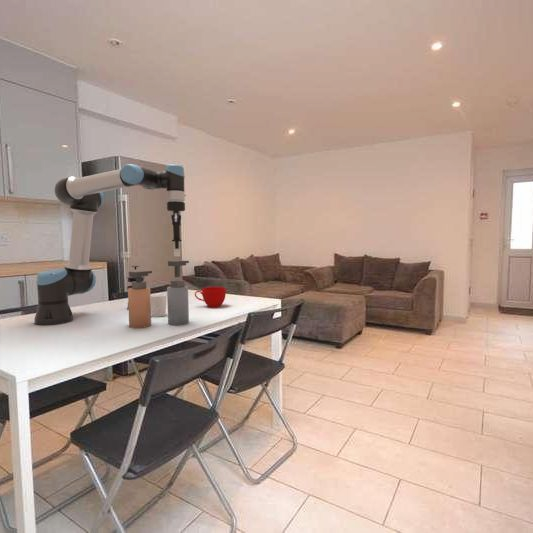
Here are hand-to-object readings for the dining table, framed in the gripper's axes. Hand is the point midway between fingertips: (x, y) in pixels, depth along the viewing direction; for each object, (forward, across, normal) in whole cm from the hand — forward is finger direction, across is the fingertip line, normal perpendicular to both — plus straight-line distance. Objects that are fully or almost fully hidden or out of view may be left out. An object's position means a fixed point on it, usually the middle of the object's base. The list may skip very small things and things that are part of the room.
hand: (177, 256), depth 156 cm
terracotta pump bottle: (+30, -1, +16) cm, 34 cm away
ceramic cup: (+30, +36, -16) cm, 50 cm away
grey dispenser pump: (+13, 0, +15) cm, 20 cm away
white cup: (+30, +19, +10) cm, 37 cm away
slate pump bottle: (+30, 0, 0) cm, 30 cm away
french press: (+30, +40, +23) cm, 55 cm away
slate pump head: (+9, +1, -1) cm, 9 cm away
